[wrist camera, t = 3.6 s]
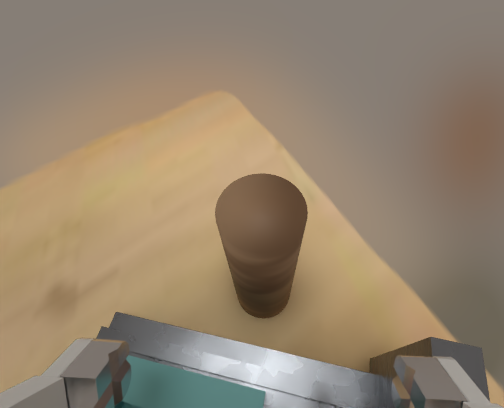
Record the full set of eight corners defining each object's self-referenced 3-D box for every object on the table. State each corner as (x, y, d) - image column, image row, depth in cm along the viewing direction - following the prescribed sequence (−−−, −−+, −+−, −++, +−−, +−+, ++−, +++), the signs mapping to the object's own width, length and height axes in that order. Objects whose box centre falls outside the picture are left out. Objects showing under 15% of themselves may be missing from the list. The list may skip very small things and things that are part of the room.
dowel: (231, 311, 23) (203, 242, 13) (244, 261, 25) (228, 167, 15) (284, 323, 22) (300, 261, 12) (293, 271, 24) (312, 180, 14)
